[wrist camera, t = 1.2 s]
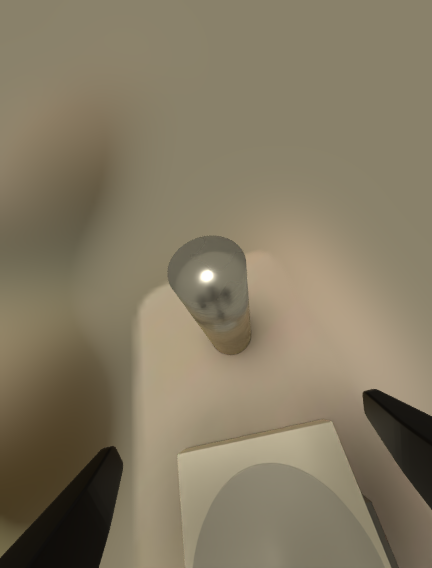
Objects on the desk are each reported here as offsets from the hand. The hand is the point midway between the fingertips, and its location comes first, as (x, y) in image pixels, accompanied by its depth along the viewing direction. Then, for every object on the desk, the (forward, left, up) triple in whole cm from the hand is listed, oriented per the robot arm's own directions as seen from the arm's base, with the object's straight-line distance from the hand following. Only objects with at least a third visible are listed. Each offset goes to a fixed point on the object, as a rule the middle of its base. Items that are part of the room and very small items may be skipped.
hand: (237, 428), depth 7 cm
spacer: (+7, 0, -13) cm, 15 cm away
